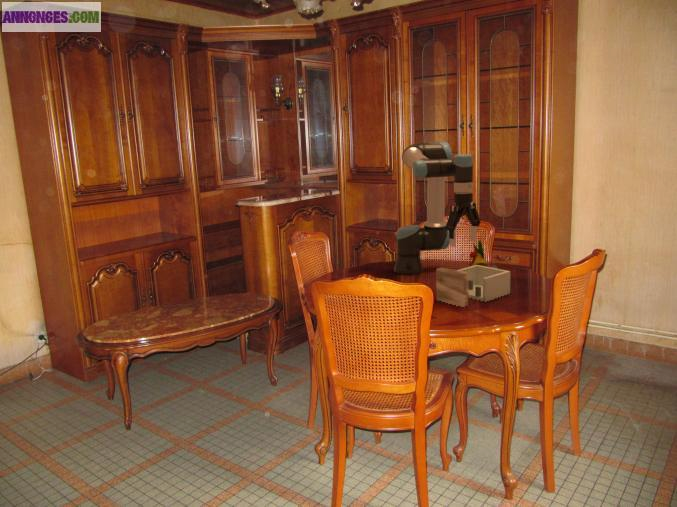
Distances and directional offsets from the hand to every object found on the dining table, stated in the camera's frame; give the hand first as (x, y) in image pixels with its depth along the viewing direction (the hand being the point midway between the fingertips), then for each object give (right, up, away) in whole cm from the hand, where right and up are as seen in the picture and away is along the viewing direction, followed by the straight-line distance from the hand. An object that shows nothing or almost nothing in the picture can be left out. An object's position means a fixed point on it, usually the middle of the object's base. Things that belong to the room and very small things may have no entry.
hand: (463, 244), depth 239 cm
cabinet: (+10, -21, +12) cm, 27 cm away
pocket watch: (+23, -17, +30) cm, 41 cm away
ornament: (+18, -12, +55) cm, 60 cm away
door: (-5, -25, +1) cm, 25 cm away
